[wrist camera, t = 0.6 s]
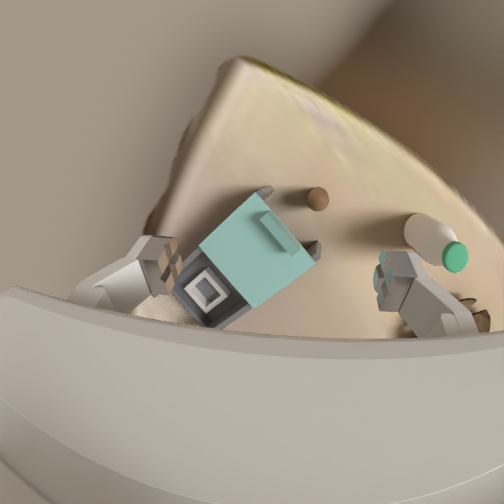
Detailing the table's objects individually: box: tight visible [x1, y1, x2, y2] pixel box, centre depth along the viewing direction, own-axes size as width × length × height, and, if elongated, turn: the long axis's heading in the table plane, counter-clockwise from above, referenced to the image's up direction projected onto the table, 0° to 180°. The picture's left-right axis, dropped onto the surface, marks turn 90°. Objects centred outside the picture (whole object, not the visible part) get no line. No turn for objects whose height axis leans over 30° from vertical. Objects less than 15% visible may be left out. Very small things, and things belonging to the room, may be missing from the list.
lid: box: [198, 192, 316, 309], centre depth 49 cm, size 16×15×4 cm
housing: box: [151, 186, 321, 329], centre depth 59 cm, size 16×35×10 cm, turn 132°
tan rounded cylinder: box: [307, 187, 329, 211], centre depth 51 cm, size 4×4×7 cm
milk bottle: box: [404, 213, 468, 273], centre depth 41 cm, size 8×8×20 cm
